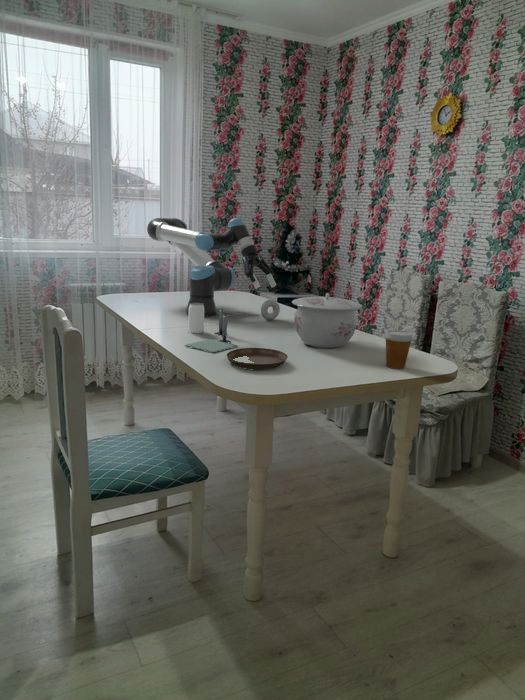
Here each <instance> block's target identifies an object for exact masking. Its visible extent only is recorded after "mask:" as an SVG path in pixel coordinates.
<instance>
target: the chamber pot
mask: <svg viewBox="0 0 525 700" xmlns="http://www.w3.org/2000/svg"><path fill="white" fill-rule="evenodd" d="M291 303H292V304H293V305H294V306H297V310H296V311H295V313H294V316H293V317H294V319H293V321H294V325H295V326H294V328H295V332H296V333H297V335H298V336H299V338H300V340H301V341H302V343H304V344H305V345H307V346H309V347H313V348H317V349H323V350H324V349H325V350H326V349H329V350H330V349H337V348H341V347H344V346H345V345H347V344H348V342H349V341H350V340H351V339H352V337H353V336H354V334H355V331H356V329H357V324H358V315H357V314H356V311H357V310H360V309H361V308H362V307H363V305H362V304H360V303H358V302H357V301H354V300H350V299H346V298H341V297H332V296H330V293H329V292H326V293H325V296H305V297H298V298H295V299H293V300H292V301H291Z"/></svg>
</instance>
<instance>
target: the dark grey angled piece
mask: <svg viewBox="0 0 525 700" xmlns="http://www.w3.org/2000/svg"><path fill="white" fill-rule="evenodd" d="M224 313H226V314H227V313H228V314H229V315H224ZM218 314H219V316H218V332H214V335H215V334H218V335H217V336H220V335H222V336H221V337H222V339H220V340H218V341H220V342H225V343H228V342H230V343H232V340H229V339H227V337H228V332H227V331H228V329H227V328H228V319H229V318H234V317H238V316H242V312H237V311H233V310H232V311H231V310H225V309H222V308H221V309H219V313H218Z"/></svg>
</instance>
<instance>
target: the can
mask: <svg viewBox="0 0 525 700" xmlns="http://www.w3.org/2000/svg"><path fill="white" fill-rule="evenodd" d="M187 327H188V328H187V329H188V330H187V331H188V333H190V332H191V333H190V334H195V333H199V334H203V333H204V331H205V316H204V306H203V303H190V306H189V315H188V326H187ZM202 332H203V333H202Z"/></svg>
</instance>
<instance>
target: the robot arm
mask: <svg viewBox="0 0 525 700" xmlns="http://www.w3.org/2000/svg"><path fill="white" fill-rule="evenodd" d="M227 226H228V229H227V230H226V231H224V233H207V232H202V231H197V230H193V229H188V225H187V224H186V222H185V221H184V220H182V219H180V218H175V217H173V218H172V217H171V218H170V217H169V218H168V217H167V218H165V217H164V218H163V217H157V218H156V217H155V218H153V219H151V220H150V221H149V223H148V224H147V227H146V230H147V235H148V236H149V238H151V239H152V240H155V241H158V242H159V241H160V242H168V243H169V244H170V246H172V247H174V248H178V249H179V250H180V252H181V253H183V254H184V255H185V256H186V257H187V258H188V260H190V262H192V264H194V266H193V267H192V268H191V269H190V274H189V300H188V303H187V306H186V308H185V314H186V315H187V316H189V306H190V303H203V306H204V317H213V316H214V315H215V316H217V314H218V309H217V306H216V302H215V298H214V297H215V292H222V291H227V290H228V291H229V290H230V289H232V288H233V287H234V286H235V283H236V272H235V270H234V268H232V267H230V266H224V264H222V262H220V261H219V260H214V259H213V258H212V257H211V256H210V254H208V253H207V252H206V251H212V250H213V251H216V252H217V253H220V254H225V253H226V252H228V251H229V250H230V249H231V248H232V247H233V246H235V245H237V247H238V251H240V254H241V255H242V257H241V258H242V259H241V261H242V263H243V270H244V276H245V277H247V278H249V280H250V281H251V283H252V285H253V287H254V289H255V290H258V289H259V288H260V287H261V285H260V282H259V281H258V279H257V276H256V274H255V273H254V270H255V269H254V267H256V268H258V269H260V271H262V272H263V273H264V274H265V275H266V276H265V277H266V279H267V281H268V283H269V285H270V288H272V289H273V288H274V287H276V286H277V283H276V281H275V280H274V277H273V275H272V273H273V272H274V270H273V269H272V268H271V266H270V265H269V264H268V263H267V262H266V260H264V258H263V256H262V255H260V256H258V252H259V251H258V248H257V247H256V245H255V243H254V241H253V238H252V237H251V235H250V232H249V231H248V229H247V226H246V223H245V222H244V220H243V219H242V218H241V217H235V218H232V219H231V220H229V221H228V223H227ZM215 316H214V317H215Z"/></svg>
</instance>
